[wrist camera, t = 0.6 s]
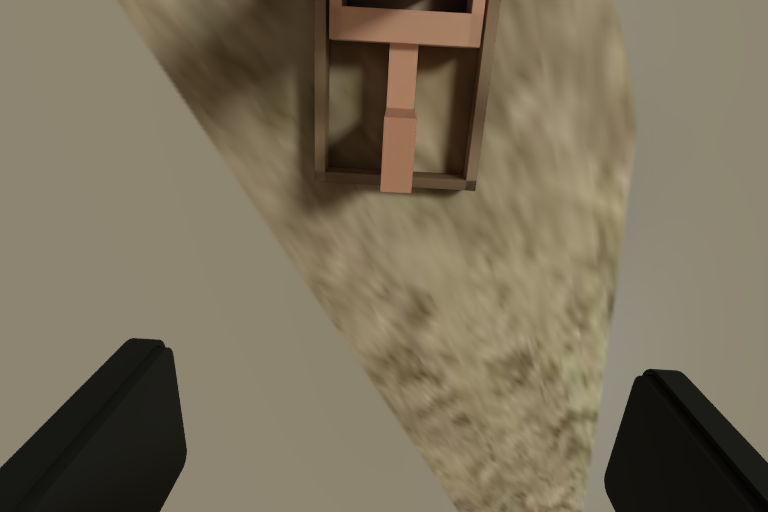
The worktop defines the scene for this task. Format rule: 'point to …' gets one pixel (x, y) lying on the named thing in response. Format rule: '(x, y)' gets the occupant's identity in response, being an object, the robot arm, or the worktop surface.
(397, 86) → the sled
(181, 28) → the worktop surface
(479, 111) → the lane frame
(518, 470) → the worktop surface
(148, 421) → the robot arm
